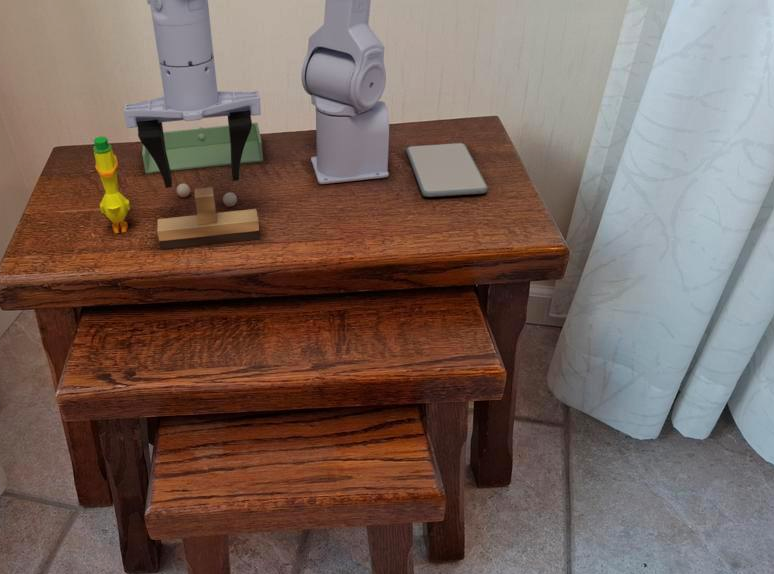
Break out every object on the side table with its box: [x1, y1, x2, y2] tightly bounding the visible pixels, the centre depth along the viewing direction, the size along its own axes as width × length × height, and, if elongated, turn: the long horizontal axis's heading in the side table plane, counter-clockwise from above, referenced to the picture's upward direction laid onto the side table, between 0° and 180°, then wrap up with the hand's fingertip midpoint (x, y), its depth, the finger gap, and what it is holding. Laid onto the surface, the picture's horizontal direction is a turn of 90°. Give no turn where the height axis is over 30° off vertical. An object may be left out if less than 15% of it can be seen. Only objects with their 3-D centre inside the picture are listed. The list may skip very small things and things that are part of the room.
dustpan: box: [141, 122, 264, 174], centre depth 111 cm, size 10×17×3 cm, turn 96°
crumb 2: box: [222, 192, 238, 208], centre depth 99 cm, size 2×2×2 cm
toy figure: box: [92, 136, 131, 234], centre depth 93 cm, size 7×4×12 cm, turn 9°
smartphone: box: [405, 142, 489, 198], centre depth 102 cm, size 8×1×15 cm
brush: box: [156, 186, 261, 251], centre depth 91 cm, size 12×3×6 cm, turn 96°
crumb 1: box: [176, 183, 191, 199], centre depth 102 cm, size 2×2×2 cm
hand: (202, 180), depth 88 cm, fingers open, 7 cm apart
